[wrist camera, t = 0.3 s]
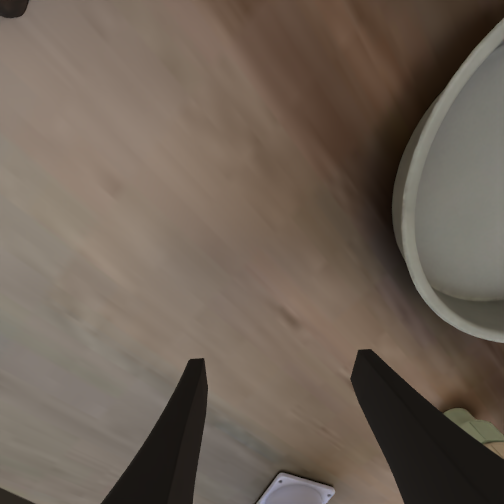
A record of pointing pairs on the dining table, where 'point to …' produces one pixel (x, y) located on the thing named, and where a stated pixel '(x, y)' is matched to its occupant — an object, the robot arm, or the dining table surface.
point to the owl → (12, 8)
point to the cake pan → (458, 196)
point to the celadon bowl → (475, 426)
